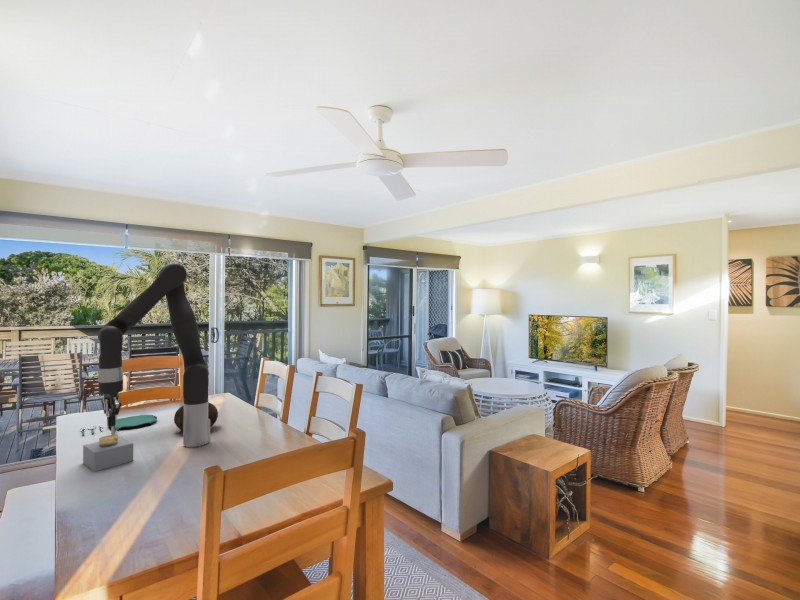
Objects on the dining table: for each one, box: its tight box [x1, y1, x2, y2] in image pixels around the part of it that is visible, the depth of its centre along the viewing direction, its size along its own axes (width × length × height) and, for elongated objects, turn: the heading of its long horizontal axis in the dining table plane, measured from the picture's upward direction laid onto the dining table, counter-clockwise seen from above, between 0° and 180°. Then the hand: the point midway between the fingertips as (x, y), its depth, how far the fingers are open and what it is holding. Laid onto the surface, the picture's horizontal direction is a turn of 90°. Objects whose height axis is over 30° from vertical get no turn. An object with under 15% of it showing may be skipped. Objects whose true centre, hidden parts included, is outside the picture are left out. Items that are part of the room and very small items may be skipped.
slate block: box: [82, 436, 134, 472], centre depth 149 cm, size 12×12×6 cm
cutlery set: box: [81, 414, 158, 437], centre depth 192 cm, size 20×30×2 cm, turn 129°
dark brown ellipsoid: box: [173, 401, 219, 432], centre depth 187 cm, size 18×18×28 cm
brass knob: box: [98, 434, 119, 447], centre depth 149 cm, size 6×6×8 cm
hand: (111, 426), depth 151 cm, fingers closed
